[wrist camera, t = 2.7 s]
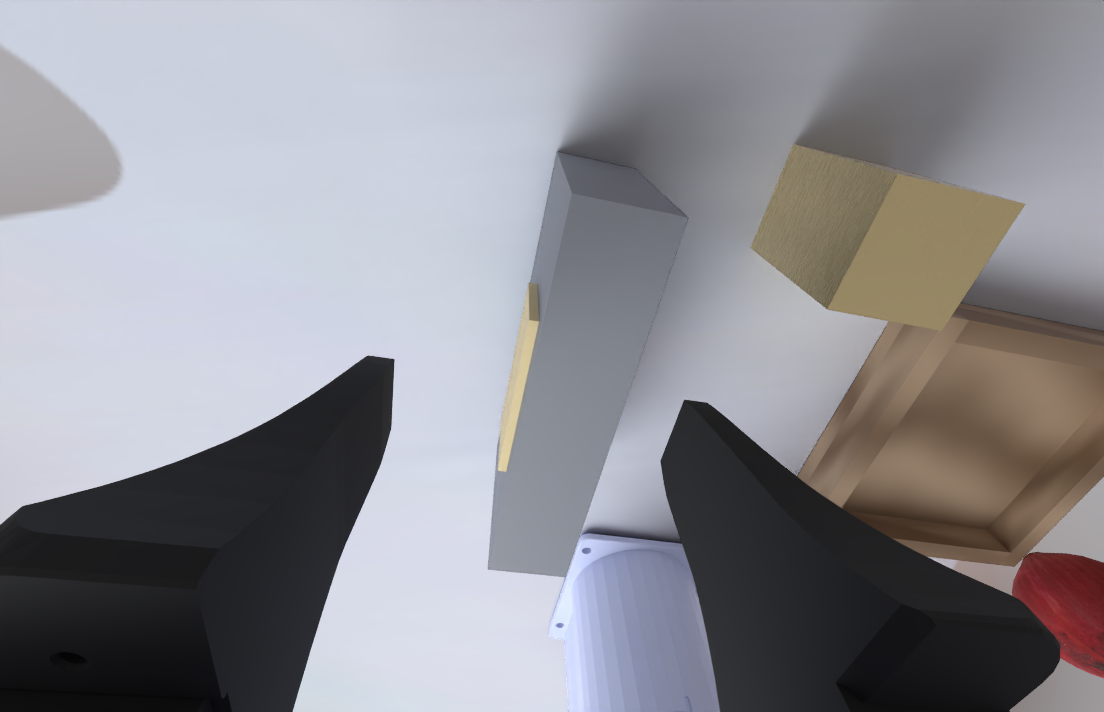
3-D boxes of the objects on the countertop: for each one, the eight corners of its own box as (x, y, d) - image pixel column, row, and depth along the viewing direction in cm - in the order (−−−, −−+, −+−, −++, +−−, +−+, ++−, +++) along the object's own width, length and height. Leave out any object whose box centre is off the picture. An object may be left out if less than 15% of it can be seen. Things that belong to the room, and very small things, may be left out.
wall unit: (556, 455, 25) (565, 577, 19) (491, 446, 25) (479, 568, 19) (635, 168, 19) (688, 217, 13) (548, 149, 18) (559, 190, 12)
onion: (965, 590, 33) (1085, 731, 26) (996, 528, 30) (1139, 669, 23) (1055, 581, 32) (1199, 720, 26) (1095, 518, 30) (1269, 656, 23)
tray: (980, 531, 30) (1014, 566, 28) (779, 506, 28) (799, 541, 26) (1151, 341, 23) (1211, 367, 21) (906, 292, 22) (947, 315, 20)
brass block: (838, 265, 21) (941, 330, 16) (750, 248, 20) (827, 309, 15) (889, 166, 19) (1025, 204, 14) (793, 143, 19) (897, 173, 13)
